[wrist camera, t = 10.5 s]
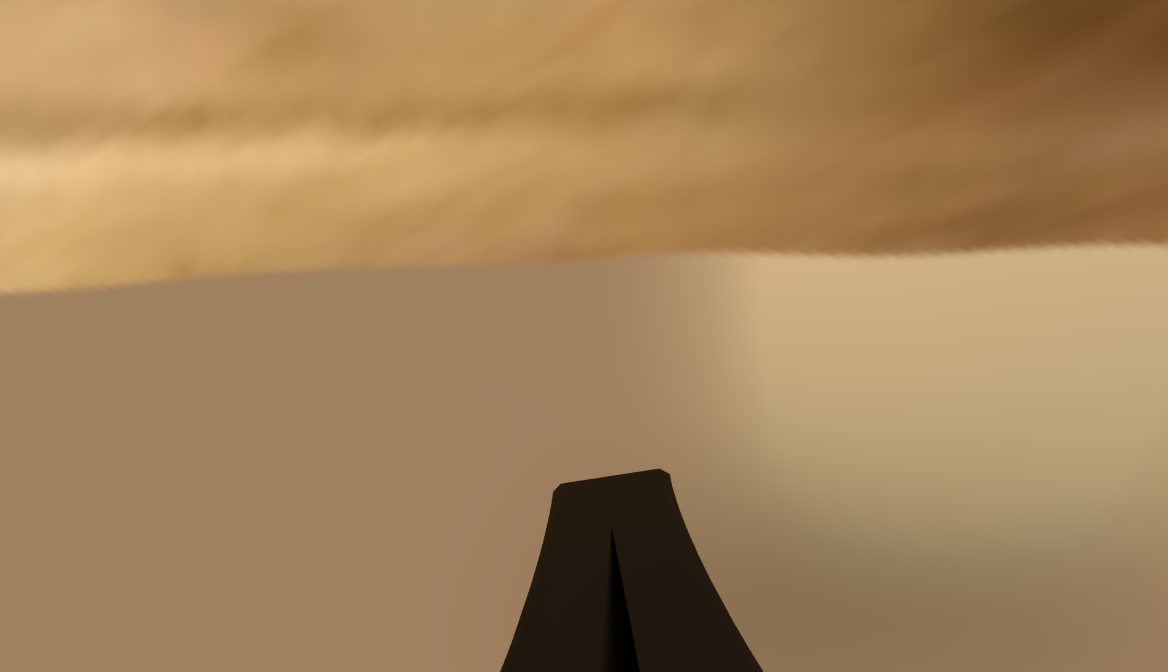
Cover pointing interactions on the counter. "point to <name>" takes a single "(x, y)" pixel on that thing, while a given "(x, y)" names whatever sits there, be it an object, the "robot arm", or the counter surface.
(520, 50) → the counter surface
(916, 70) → the counter surface
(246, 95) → the counter surface
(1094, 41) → the counter surface
